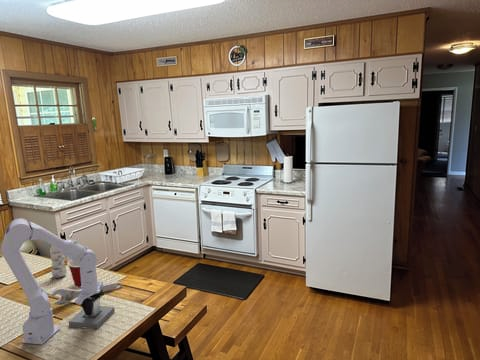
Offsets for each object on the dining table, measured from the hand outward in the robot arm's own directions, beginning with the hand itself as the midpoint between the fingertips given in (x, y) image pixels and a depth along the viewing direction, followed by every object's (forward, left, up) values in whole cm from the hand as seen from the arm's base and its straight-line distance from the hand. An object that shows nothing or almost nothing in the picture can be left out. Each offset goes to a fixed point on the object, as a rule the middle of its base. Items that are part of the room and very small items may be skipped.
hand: (92, 311), depth 129 cm
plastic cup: (+26, +23, -3) cm, 35 cm away
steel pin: (0, 0, -2) cm, 2 cm away
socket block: (0, 0, -3) cm, 3 cm away
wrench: (+15, +12, -3) cm, 20 cm away
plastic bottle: (+32, +40, -3) cm, 51 cm away
